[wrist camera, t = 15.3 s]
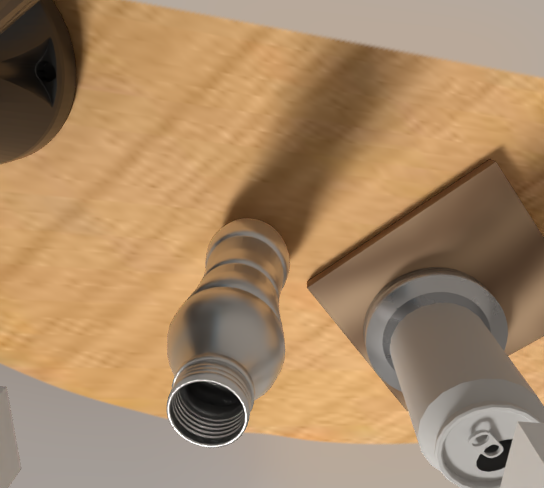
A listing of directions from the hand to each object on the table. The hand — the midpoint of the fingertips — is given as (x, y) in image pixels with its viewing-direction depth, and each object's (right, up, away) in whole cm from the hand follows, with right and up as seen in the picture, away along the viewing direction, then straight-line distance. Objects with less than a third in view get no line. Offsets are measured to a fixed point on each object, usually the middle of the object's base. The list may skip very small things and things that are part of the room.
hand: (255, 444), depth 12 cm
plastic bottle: (-1, +5, +27) cm, 27 cm away
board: (+15, +1, +27) cm, 31 cm away
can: (+13, -2, +25) cm, 29 cm away
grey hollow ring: (+14, -2, +27) cm, 30 cm away
